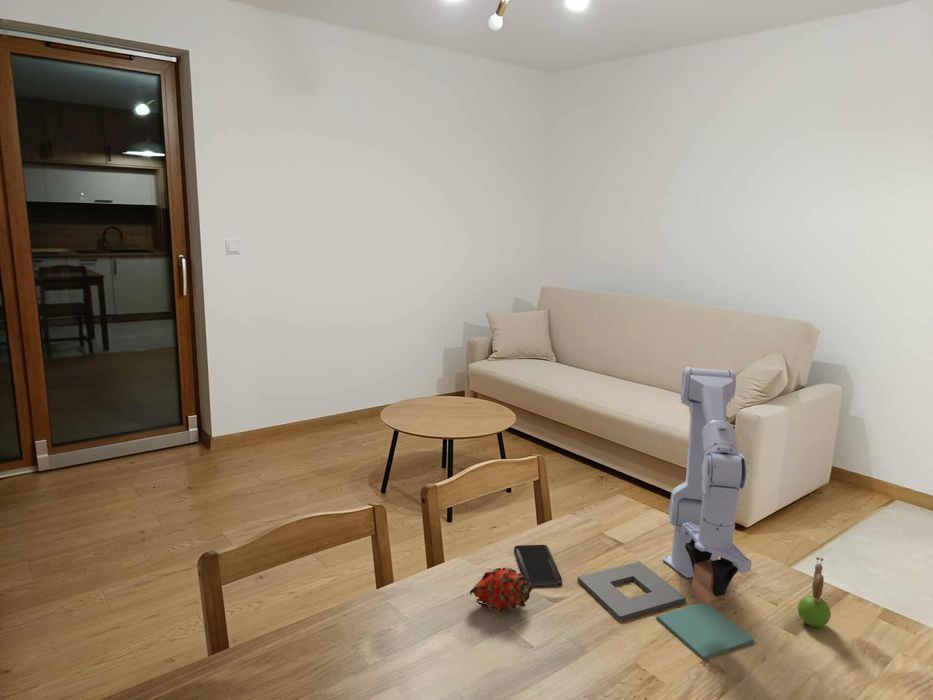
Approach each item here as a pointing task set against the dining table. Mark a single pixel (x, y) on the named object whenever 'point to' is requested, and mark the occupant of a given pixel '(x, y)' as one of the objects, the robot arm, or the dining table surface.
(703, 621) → the teal mat
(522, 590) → the dragon fruit
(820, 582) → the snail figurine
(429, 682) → the dining table surface
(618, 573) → the charcoal pocket board
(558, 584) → the phone
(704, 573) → the terracotta block
